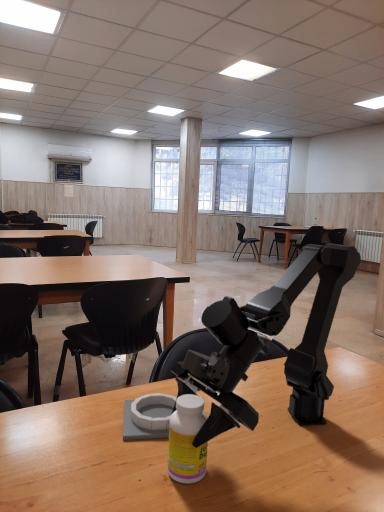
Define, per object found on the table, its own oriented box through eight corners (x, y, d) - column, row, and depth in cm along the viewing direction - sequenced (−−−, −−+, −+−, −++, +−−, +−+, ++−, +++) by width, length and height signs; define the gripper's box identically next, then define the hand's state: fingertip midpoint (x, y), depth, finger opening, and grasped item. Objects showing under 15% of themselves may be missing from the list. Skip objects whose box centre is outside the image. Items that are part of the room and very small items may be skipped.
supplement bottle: (202, 489, 61) (206, 414, 60) (162, 481, 62) (165, 408, 61) (208, 462, 68) (212, 394, 66) (172, 456, 69) (175, 389, 67)
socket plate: (185, 400, 89) (185, 389, 89) (194, 436, 75) (195, 422, 75) (124, 403, 87) (124, 391, 86) (122, 439, 73) (123, 426, 73)
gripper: (180, 319, 72) (126, 388, 67) (250, 351, 57) (187, 444, 52) (211, 351, 77) (163, 417, 72) (282, 388, 63) (227, 475, 57)
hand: (181, 435), depth 63 cm, fingers closed on supplement bottle, 7 cm apart
